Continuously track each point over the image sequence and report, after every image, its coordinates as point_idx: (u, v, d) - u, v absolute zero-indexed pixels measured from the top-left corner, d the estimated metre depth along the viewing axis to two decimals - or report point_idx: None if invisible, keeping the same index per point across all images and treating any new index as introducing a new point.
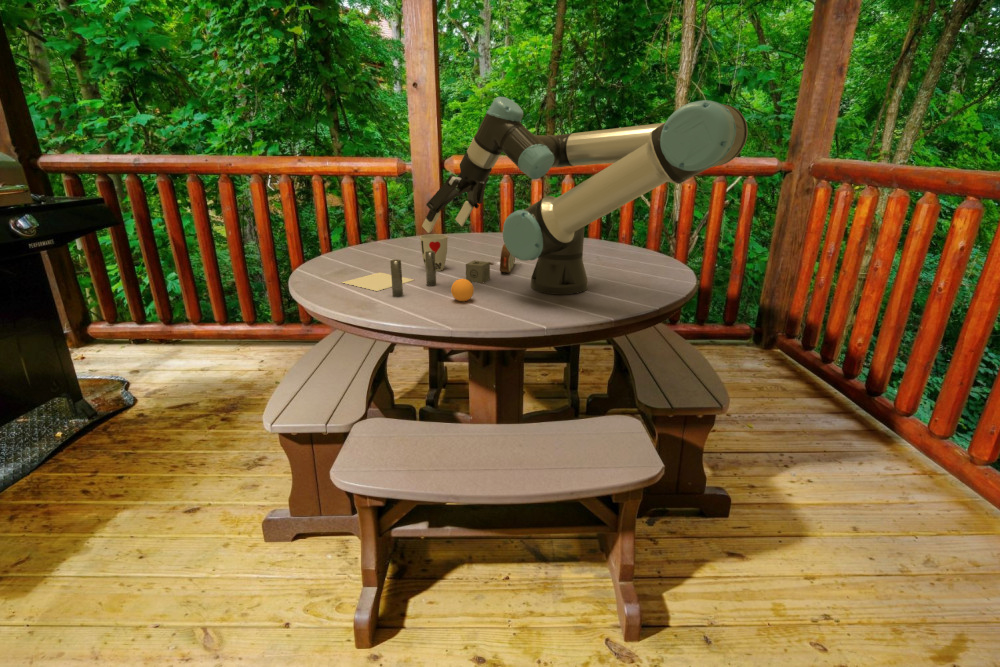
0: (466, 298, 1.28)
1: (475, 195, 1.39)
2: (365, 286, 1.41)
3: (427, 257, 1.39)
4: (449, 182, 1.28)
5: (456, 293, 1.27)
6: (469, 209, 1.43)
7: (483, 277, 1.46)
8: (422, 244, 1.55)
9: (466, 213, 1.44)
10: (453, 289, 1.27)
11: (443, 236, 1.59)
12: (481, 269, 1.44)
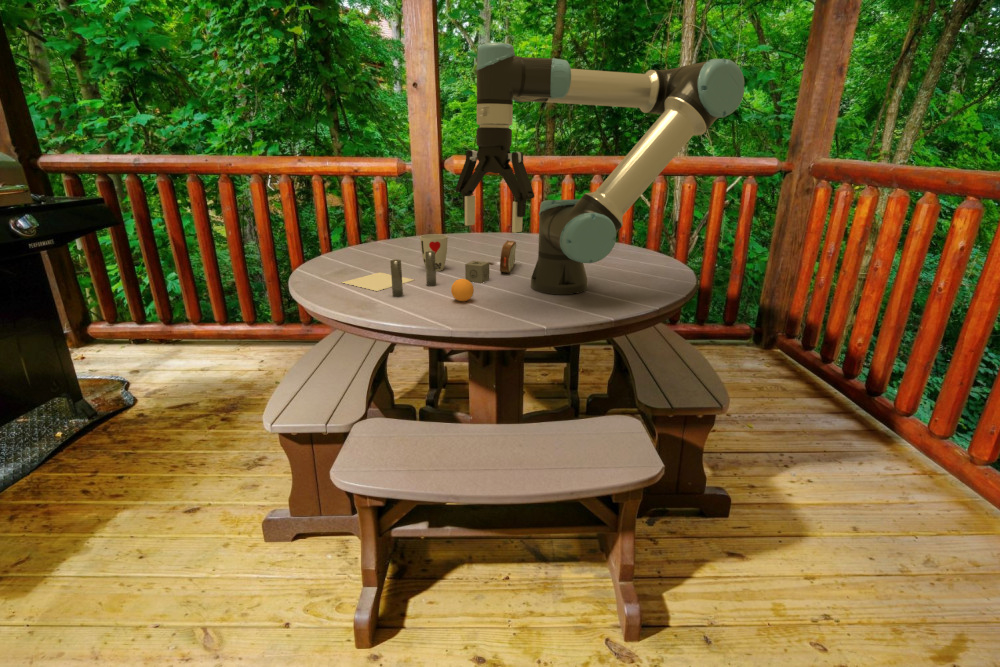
0: (466, 298, 1.28)
1: None
2: (365, 286, 1.41)
3: (427, 257, 1.39)
4: (518, 160, 1.09)
5: (456, 293, 1.27)
6: (473, 200, 1.21)
7: (483, 277, 1.45)
8: (422, 244, 1.55)
9: (473, 207, 1.21)
10: (453, 289, 1.27)
11: (443, 236, 1.59)
12: (480, 269, 1.44)
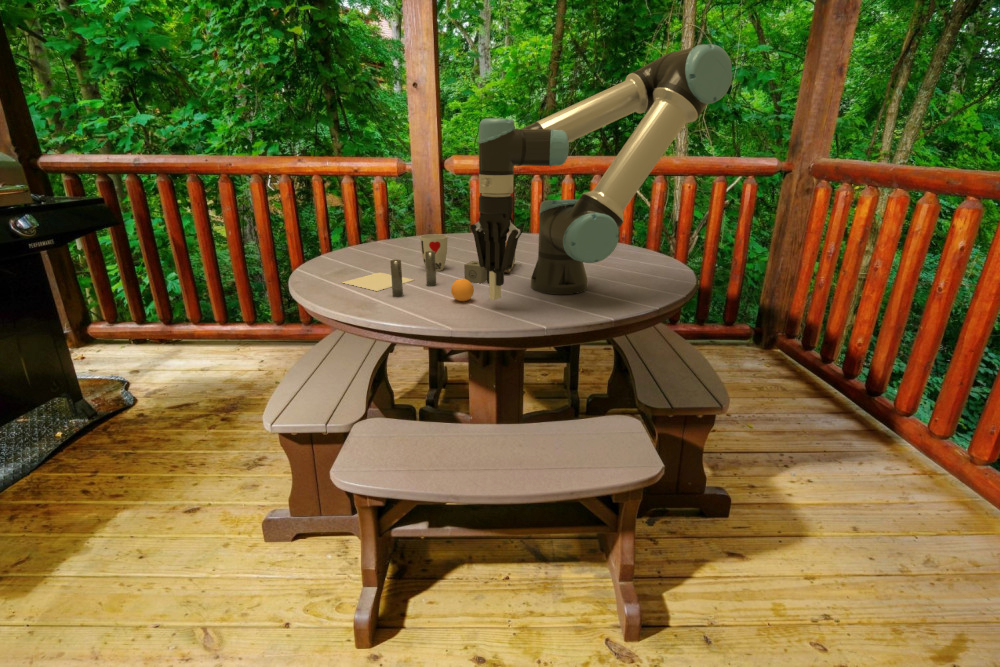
0: (466, 298, 1.28)
1: None
2: (365, 286, 1.41)
3: (427, 257, 1.39)
4: (515, 237, 1.15)
5: (456, 293, 1.27)
6: None
7: (482, 278, 1.45)
8: (422, 244, 1.55)
9: None
10: (453, 289, 1.27)
11: (443, 236, 1.59)
12: (480, 270, 1.43)
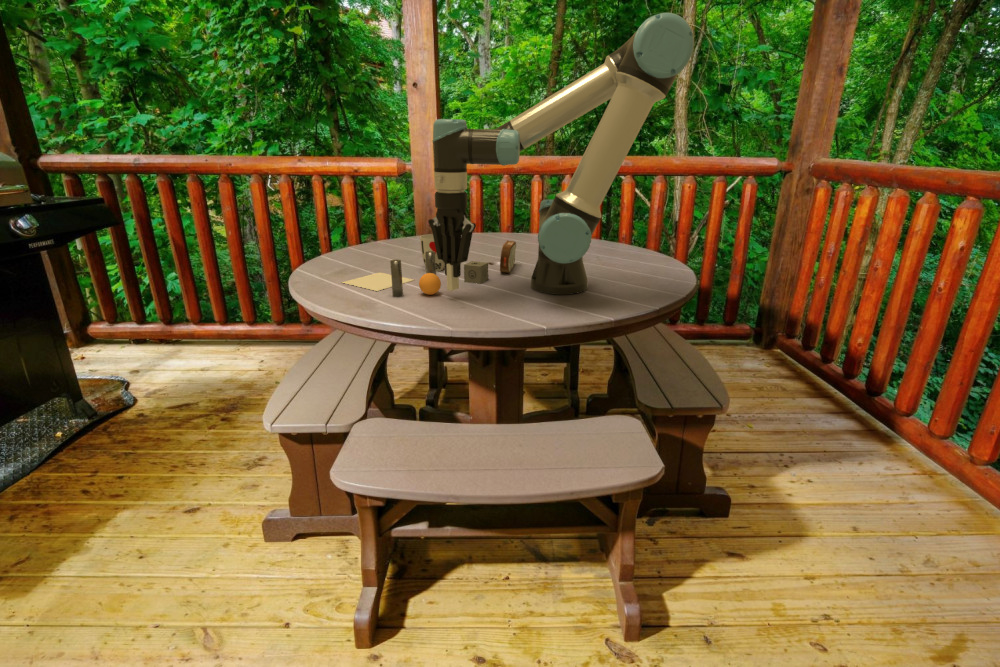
0: (420, 280, 1.34)
1: None
2: (365, 286, 1.41)
3: (427, 257, 1.39)
4: (469, 231, 1.22)
5: (422, 285, 1.32)
6: None
7: (481, 278, 1.45)
8: (422, 244, 1.55)
9: None
10: (426, 288, 1.32)
11: None
12: (479, 270, 1.43)
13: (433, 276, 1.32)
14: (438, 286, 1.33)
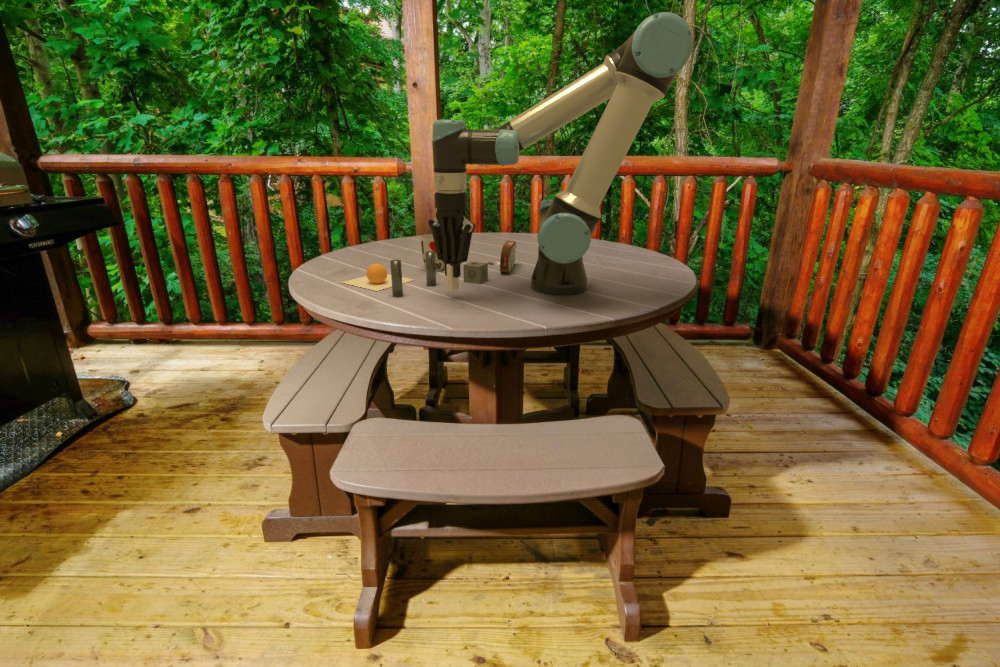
0: None
1: None
2: (365, 286, 1.41)
3: (427, 257, 1.39)
4: (469, 231, 1.22)
5: (368, 276, 1.41)
6: None
7: (481, 278, 1.45)
8: (422, 244, 1.55)
9: None
10: (372, 275, 1.41)
11: None
12: (479, 270, 1.43)
13: (376, 264, 1.42)
14: (383, 271, 1.42)
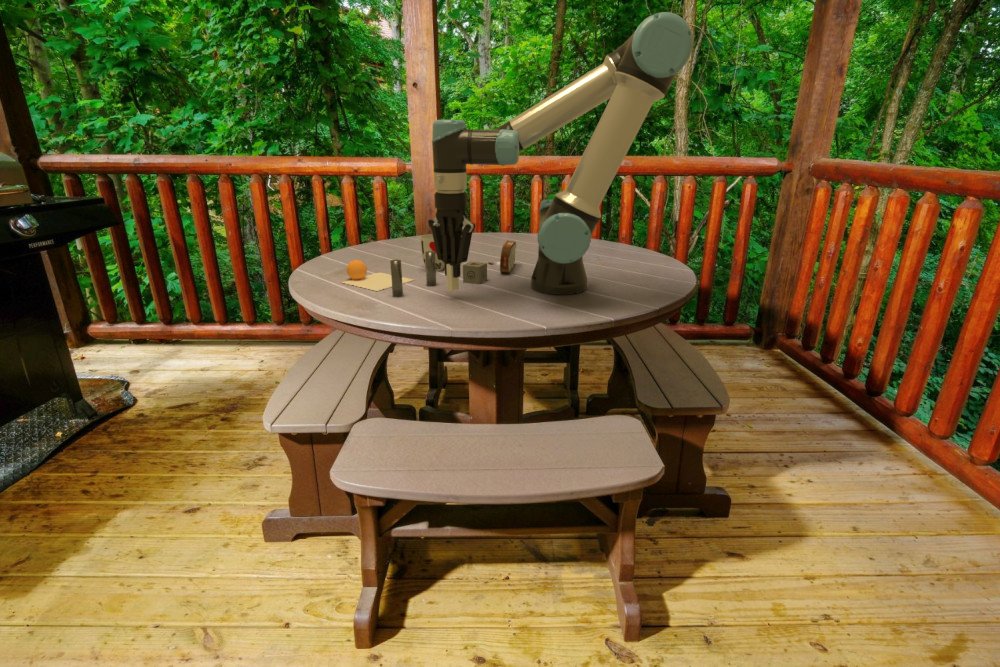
0: (360, 273, 1.45)
1: None
2: (365, 286, 1.41)
3: (427, 257, 1.39)
4: (469, 231, 1.22)
5: (349, 272, 1.45)
6: None
7: (480, 278, 1.44)
8: (422, 244, 1.55)
9: None
10: (347, 270, 1.45)
11: None
12: (478, 270, 1.43)
13: None
14: None
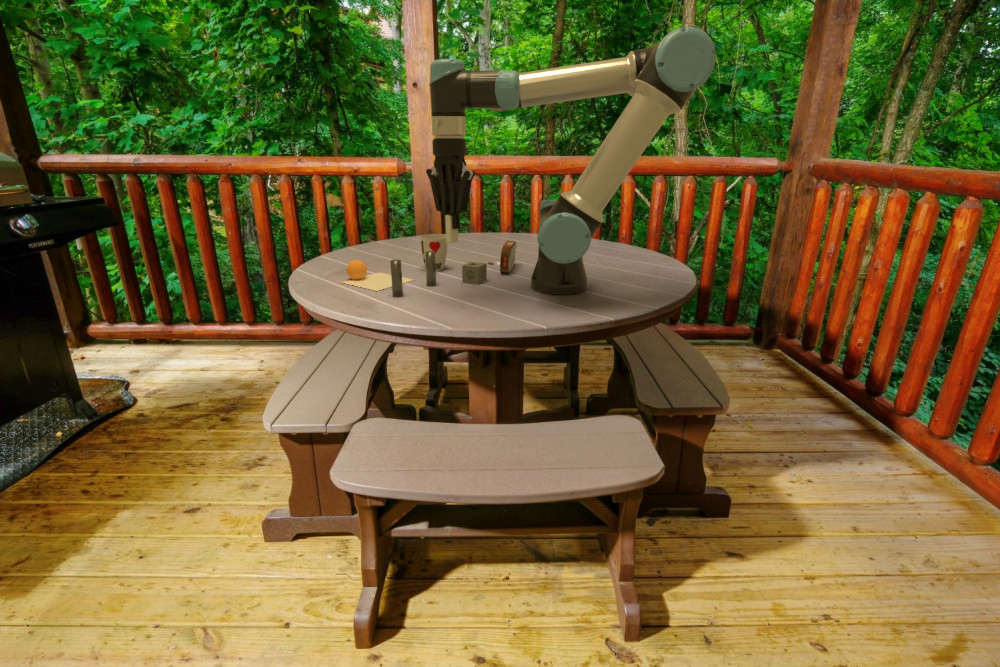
0: (360, 273, 1.45)
1: None
2: (365, 286, 1.41)
3: (427, 257, 1.39)
4: (468, 179, 1.18)
5: (349, 272, 1.45)
6: None
7: (480, 278, 1.44)
8: (422, 244, 1.55)
9: None
10: (347, 270, 1.45)
11: (443, 236, 1.59)
12: (478, 270, 1.43)
13: None
14: None
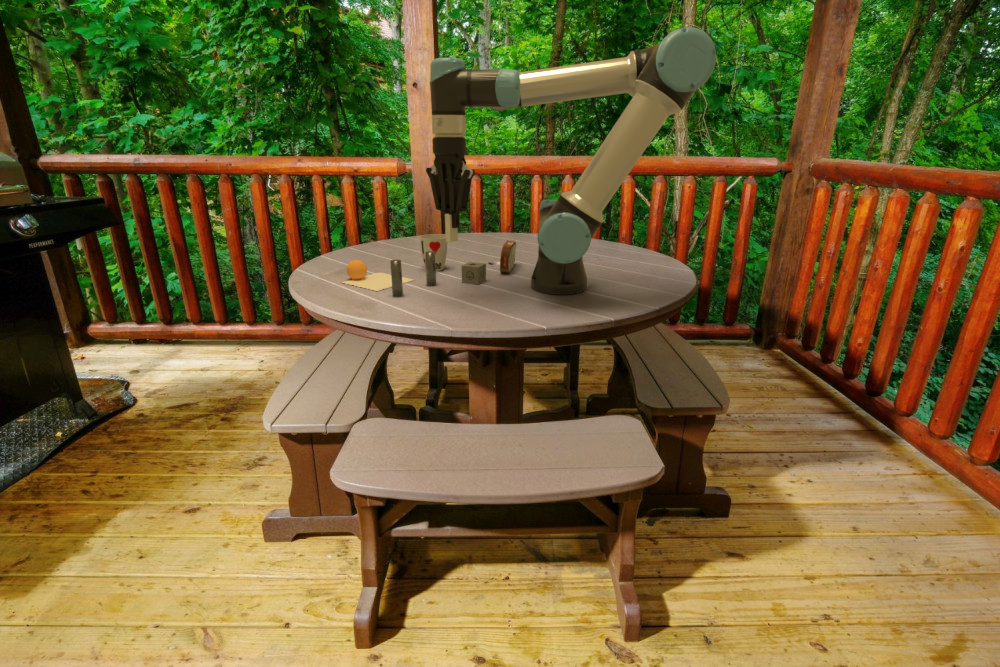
0: (360, 273, 1.45)
1: None
2: (365, 286, 1.41)
3: (427, 257, 1.39)
4: (468, 178, 1.18)
5: (349, 272, 1.45)
6: None
7: (479, 279, 1.44)
8: (422, 244, 1.55)
9: None
10: (347, 270, 1.45)
11: (443, 236, 1.59)
12: (477, 271, 1.42)
13: None
14: None
